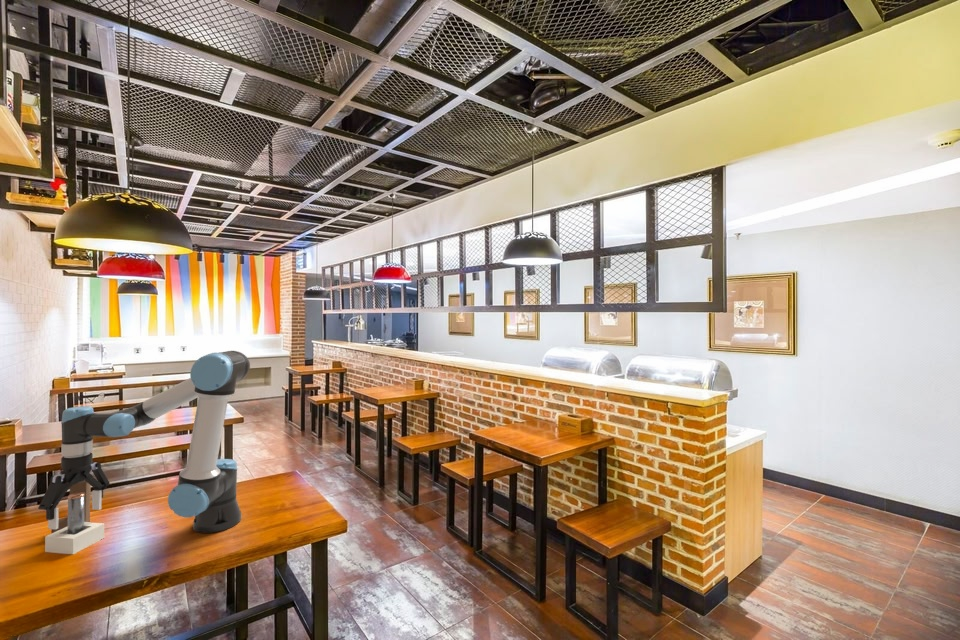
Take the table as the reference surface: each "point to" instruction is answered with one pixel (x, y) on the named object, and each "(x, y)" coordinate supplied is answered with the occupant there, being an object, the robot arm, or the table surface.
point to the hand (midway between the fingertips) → (76, 518)
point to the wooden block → (86, 489)
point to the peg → (76, 513)
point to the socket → (74, 539)
